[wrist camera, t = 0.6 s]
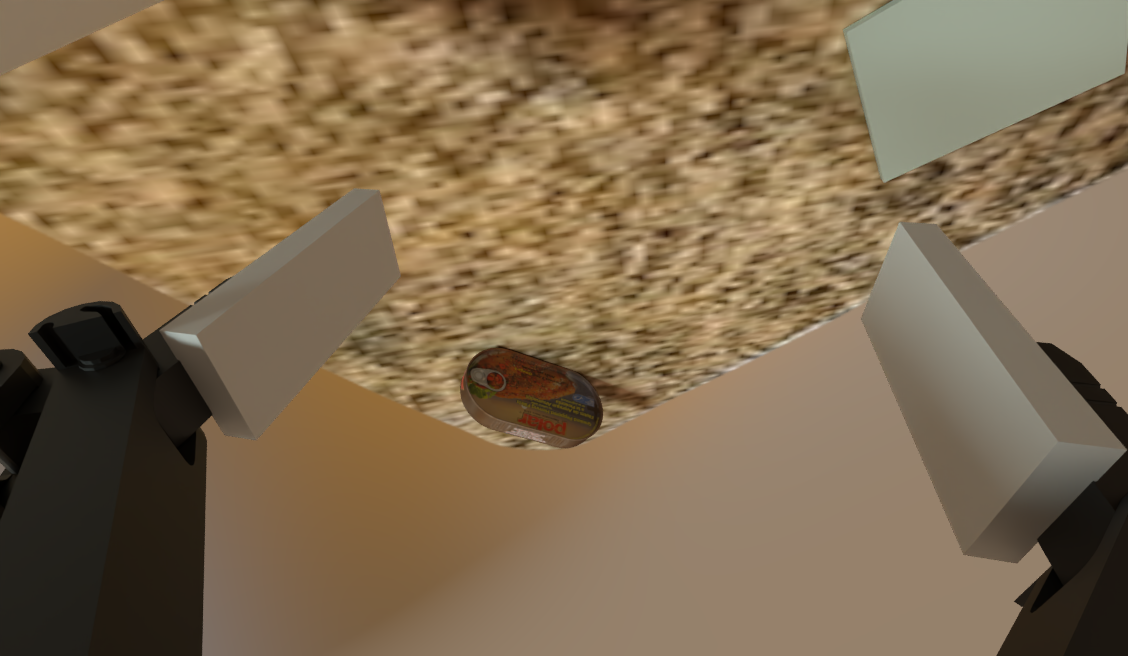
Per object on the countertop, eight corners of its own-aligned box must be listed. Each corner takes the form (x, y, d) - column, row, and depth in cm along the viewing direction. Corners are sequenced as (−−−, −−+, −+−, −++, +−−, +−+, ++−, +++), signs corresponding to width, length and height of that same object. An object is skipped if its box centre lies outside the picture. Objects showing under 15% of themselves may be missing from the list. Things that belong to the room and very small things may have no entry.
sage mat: (842, 29, 31) (846, 32, 31) (1135, -142, 26) (1145, -141, 25) (880, 178, 38) (884, 182, 38) (1117, 70, 33) (1124, 73, 32)
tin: (603, 380, 56) (606, 447, 51) (589, 395, 58) (590, 461, 53) (474, 336, 52) (460, 403, 46) (463, 354, 54) (449, 421, 48)
